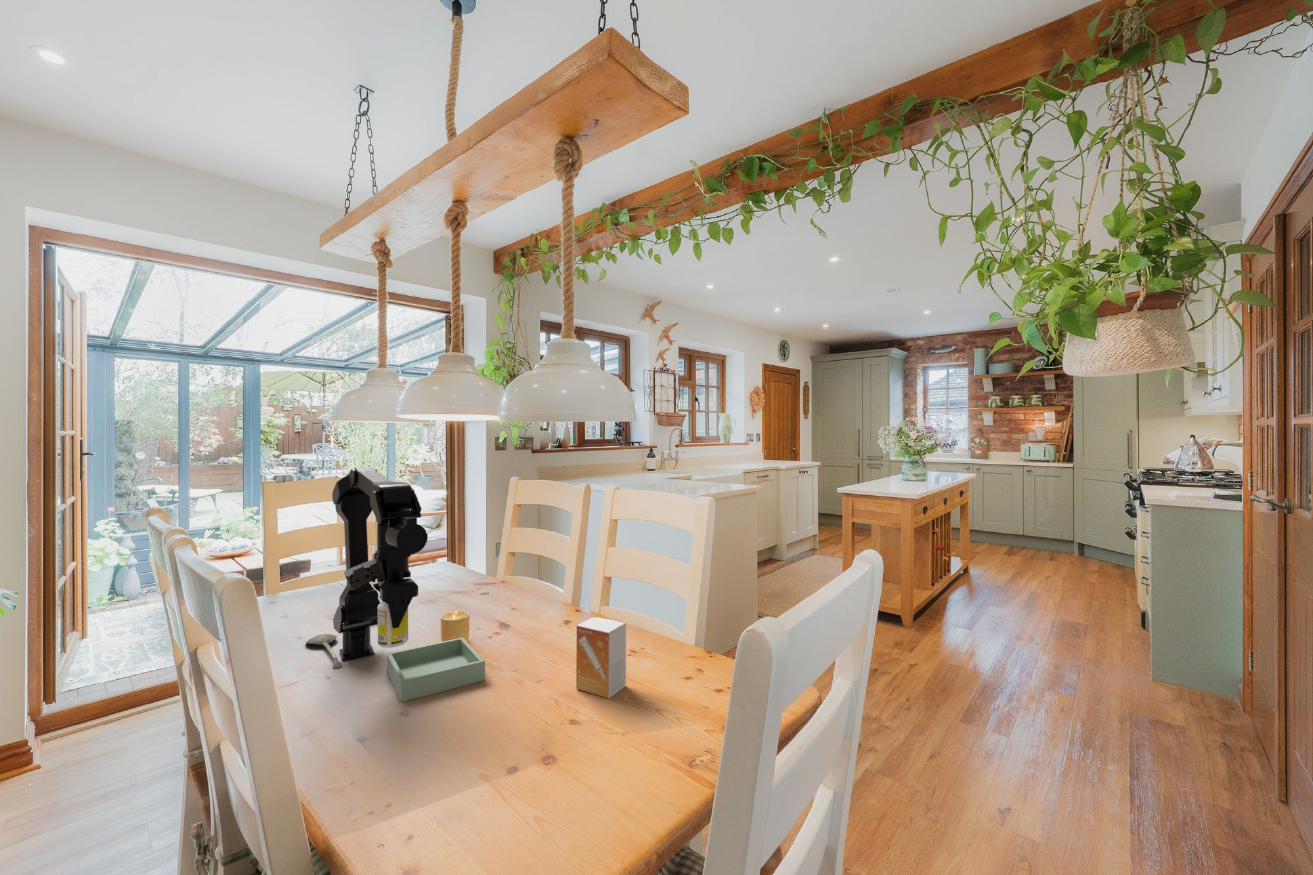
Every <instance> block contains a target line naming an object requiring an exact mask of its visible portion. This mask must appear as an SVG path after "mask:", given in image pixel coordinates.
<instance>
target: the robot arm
mask: <svg viewBox="0 0 1313 875" xmlns="http://www.w3.org/2000/svg"><path fill="white" fill-rule="evenodd" d="M331 497H332V503H333V505H334V508H335V512H336V514H338V516H339V517H340V519H341V520H342V521H343V523H344V525H343V526H344V527H343V528H344V549H345V550H344V551H345V571H344V572H343V574H344V576H345V579H346V586H345V587H344V589H343V591H342V592H341V594H340V596H339V598H338V600H339V603H338V606H337V608H336V611H335V613H334V616H333V619H332V622H333V629H334V630H335V631H336V632H337V633H338V634H342V648H340V649H339V651H338V652H339V656H340V659H341V660H342V661H347V660H352V659H356V658H362V657H366V656H370V655H374V654H375V651H374V649H373V646H372V644H371V627H373V626H378V605H379V604H380V603H381V602H382V601H384V602H385V603H387V604H388V608H389V613H390V618H391V623H392V627H393V628H398V627H399V626H400V624H401V621H402V619H403V617H404V615H405V612H406V610H407V608H408V609H409V606H410V604H411V602H412V600H413V598H417V597H418V596H419V585H418V584H417V582H416V581H415V580H413V579H411V576H412V574H411V571H410V568H409V565H410V564H409V562H410V561H409V557H410V558H411V555H414V554H417V553H419V552H421V551H422V550H423V549H424V548H425V547H426V545H427V542H428V538H429V537H428V532H427V530H426V529H425V528H424V526H422V525H421V524H418V519H419V518H422V513H421V512H422V506H421V504H420V502H419V499H418V496H417V494H416V493H415V490H414V488H413V487H412V486H411V484H410V483H409V482H401V481H391V480H390V479H388V478H387V477H385V476H384V475H383V474H381V473H380V472H379V471H378V469H377V468H376V467H371V466H369V467H368V466H367V467H354V468H352V469H349V473H348V474H347V475H346V476H344V477H342V478H340V479H339V480H337V481H336V482H335V486H334V488H333V490H332V494H331ZM372 512H373V514H374V516H375V521H376V523H377V525H376V528H377V529H376V530H377V531H376V540H377V541H376V543H377V545H376V550H375V552H374V553H373V559H370V560H369V544H368V542H369V541H368V526H367V524H368V523H367V522H368V521H367V520H368V519H369V516H370V515H371V513H372ZM375 582H377V583H375ZM371 583H374V584H371ZM380 600H381V601H380Z"/></svg>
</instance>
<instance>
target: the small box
mask: <svg viewBox="0 0 1313 875" xmlns="http://www.w3.org/2000/svg"><path fill="white" fill-rule="evenodd" d="M575 658H576V667H575V668H576V669H575V670H576V671H575V673H576V676H575V677H576V678H575V680H576V681H575V682H576V684H575V689H576V690H580V691H582V692H586V693H590V694H593V695H597V696H600V697H603V698H605V699H608V700H609V699H610V698H612V697H613V696H614V695H616V694H618V693H619V692H620V691H621V690H622V689H623V690H624V688H625V687H626V686H627V623H625V622H621V621H617V620H613V619H609V618H603V617H597V616H593V617H591V618H588V619H587V620H584V621H582V622H581V623H579V624H577V625H576V657H575Z"/></svg>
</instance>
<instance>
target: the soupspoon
mask: <svg viewBox="0 0 1313 875" xmlns="http://www.w3.org/2000/svg"><path fill="white" fill-rule="evenodd" d="M336 639H338V636H337V635H336V634H331V633H323V634H318V635H315V636H313V637H311V638H309V639H308V640H307V641H306V642H305V644H306V643H307V644H308V645H309V644H313V645H321V646H323V647H324V648H326V649H327V651H328V652H329V654H330V655H331V658H332V662H333V665H332V669H337V668H341V667H342V666H343V663H342V662H341V661H339V659H338V657H337V656H336V654H335V652H334V650H333V649H332V648H331V645H330V643H332V642H334V641H335V640H336Z"/></svg>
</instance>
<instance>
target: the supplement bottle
mask: <svg viewBox="0 0 1313 875" xmlns="http://www.w3.org/2000/svg"><path fill="white" fill-rule="evenodd" d="M408 641H409V607H408V608H407V610H406V612H405V615H404V617H403V619H402V621H401V624H400V626H399V627H398V628H393V627H392V623H391V618H390V613H389V608H388V604H387V603H385V602H384V601H382V600H381V602H380V604H379V605H378V625H377V644H378V647H381V648H385V649H389V648H397V647H400V646H403V645H405V644H406V643H408Z"/></svg>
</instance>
